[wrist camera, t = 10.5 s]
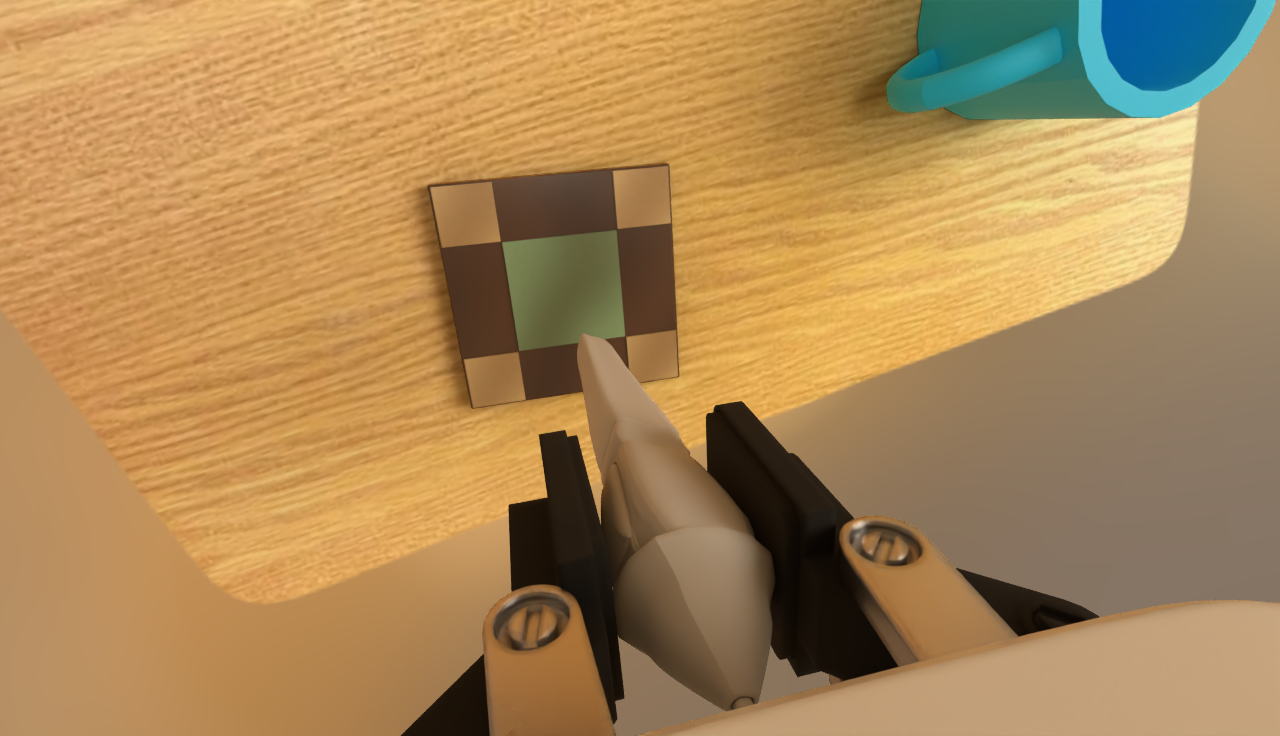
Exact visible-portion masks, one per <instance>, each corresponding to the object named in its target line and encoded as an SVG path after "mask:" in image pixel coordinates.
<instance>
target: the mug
mask: <svg viewBox="0 0 1280 736" xmlns="http://www.w3.org/2000/svg"><path fill="white" fill-rule="evenodd" d="M1275 2H1276V0H923V2H922V8H921V14H920V20H919V26H918V32H917V38H918V50H919V55H918V56H917V57H915V58H914V59H912V60H911V61H909V62H908V63H907V64H905V65H904V66H902V67H901V68H900V69H899V70H898V71H897V72H896V73H895V74H894V75H893V76H892V77H891V78H890V79H889V81H888V83H887V88H886V91H887V100H888V103H889V105H890V107H891V108H892V109H894V110H895V111H901V112H907V113H915V112H922V111H929V110H934V109H938V108H941V107H945V109H947V110H949V111H951V112H953V113H955V114H957V115H959V116H961V117H964V118H966V119H986V120H998V119H1087V118H1161V117H1163V116H1166V115H1169V114H1172V113H1174V112H1177V111H1180V110H1183V109H1185V108H1188V107H1191V106H1192V105H1194V104H1195V103H1196V102H1198V101H1199V100H1200V99H1202V98H1203V97H1204V96H1206V95H1207V94H1209V93H1210V92H1211V91H1213V90H1214V89H1215V88H1217V87H1218V86H1220V85H1221V84H1222V83H1223V82H1224V80H1225V79H1226V78H1227V77H1228V76H1229V75H1230V74H1231V73H1232V71H1233V70H1234V69H1235V68H1236V67H1237V66H1238V64H1239V63H1240V62H1241V61H1242V60H1243V59H1244V58H1245V56H1246V55H1247V54H1248V53H1249V51H1250V50H1251V48H1252V46H1253V45H1254V43H1255V41H1256V39H1257V37H1258V36H1259V34H1260V32H1261V30H1262V29H1263V27H1264V25H1265V24H1266V22H1267V20H1268V18H1269V17H1270V15H1271V13H1272V10H1273V7H1274V5H1275Z"/></svg>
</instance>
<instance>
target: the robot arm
mask: <svg viewBox="0 0 1280 736" xmlns="http://www.w3.org/2000/svg"><path fill="white" fill-rule="evenodd" d="M539 439H540V446H541V453H542V460H543V467H544V474H545V481H546V489H547V496H548V498H542V499H537V500H532V501H526V502H521V503H515V504H510V505H509V532H510V562H511V590H512V592H511V593H509V594H508V595H506V596H505V597H503V598H502V599H500V600H499V601H498V602H497V603H496V604H495V605H494V606H493V607H492V608H491V609H490V611H489V613H488V614H487V616H486V618H485V620H484V624H483V631H482V636H483V648H484V649H483V650H484V654H483V655H482V656H481V657H480V658H479V659H478V660H477V661H476V662H475V663H474V664H473V665H472V666H471V667H470V668H469V669H468V670H467V671H466V672H465V673H464V674H463V675H462V676H461V677H460V678H459V679H458V680H457V681H456V682H455V683H454V684H453V685H452V686H451V687H450V688H448V690H447V691H445V692H444V693H443V695H441V696H440V698H438V699H437V700H436V701H435V702H434V703H433V704H432V705H431V706H430V707H429V708H428V709H427V710H426V711H425V712H424V713H423V714H422V715H421V716H420V717H419V718H418V719H417V720H416V721H415V722H414V723H413V724H412V725H411V726H410V727H409V728H408V729H407V730H406V731H405V732H404V733H403V734H402V735H401V736H616V733H615V730H614V726H613V724H615V722H616V720H617V712H616V704H615V701H617V700H621V699H624V689H623V680H622V671H621V662H620V652H619V644H618V634H617V625H616V616H615V607H614V598H613V589H612V580H611V571H610V564H609V558H608V552H607V547H606V543H605V539H604V535H603V532H602V528H601V524H600V520H599V517H598V513H597V509H596V505H595V501H594V498H593V494H592V490H591V486H590V483H589V479H588V475H587V471H586V467H585V464H584V460H583V456H582V452H581V449H580V445H579V441H578V437H577V435H576V436H570V437H567V435H566V431H565V430H563V431H557V432H551V433H545V434H539ZM706 440H707V472H708V473H709V474H710V475H711V476H712V477H713V478H714V479H715V480H716V481H717V482H718V483H719V484H720V485H721V487H722V488H723V489H724V490H725V491H726V492H727V493H728V494H729V496H730V497H731V498H732V500H733V501H734V502H735V503H736V505H737V506H738V507H739V508H740V509H741V511H742V512H743V513H744V514H745V515H746V516H747V518H748V519H749V522H750V524H751V526H752V529H753V531H754V535H755V539H756V540H757V541H758V542H759V543H760V544H762V545H763V546H764V547H765V548H766V549H767V550H768V551H770V553H771V554H772V559H773V563H774V569H775V578H776V582H775V586H774V590H773V595H772V599H771V603H770V612H771V617H772V637H771V644H770V645H771V646H772V648H773V650H774V652H775V654H776V656H777V657H778V658H779V659H780V660H782V659H786V658H787V659H788V661H789V662H790V664H791V666H792V668H793V670H794V671H795V673H796V675H797V677H800V676H804V675H807V674H812V673H816V672H820V671H822V672H825V673H827V674H829V681H830V684H831V685H827V686H823V687H819V688H816V689H811V690H808V691H804V692H800V693H796V694H792V695H788V696H784V697H781V698H777V699H773V700H769V701H766V702H762V703H757V704H754V705H750V706H746V707H742V708H738V709H734V710H731V711H727V712H723V713H719V714H715V715H712V716H708V717H704V718H700V719H697V720H693V721H689V722H685V723H681V724H678V725H674V726H671V727H667V728H663V729H659V730H655V731H651V732H648V733H644V734H640V735H636V736H1280V603H1270V602H1257V601H1246V600H1212V601H1193V602H1184V603H1176V604H1167V605H1160V606H1154V607H1149V608H1144V609H1139V610H1134V611H1129V612H1125V613H1120V614H1114V615H1109V616H1105V617H1099V616H1098V615H1096V614H1094V613H1093V612H1091V611H1089V610H1087V609H1085V608H1084V607H1082V606H1079V605H1077V604H1074V603H1072V602H1069V601H1066V600H1064V599H1060V598H1056V597H1053V596H1050V595H1047V594H1043V593H1040V592H1036V591H1033V590H1030V589H1026V588H1023V587H1019V586H1016V585H1012V584H1009V583H1005V582H1002V581H999V580H995V579H992V578H988V577H985V576H982V575H978V574H975V573H972V572H968V571H965V570H961V569H958V568H955V567H954V566H953V565H952V564H951V563H950V561H949V560H948V559H947V558H946V557H945V556H944V555H943V554H942V553H941V552H940V551H939V550H938V548H937V547H936V546H935V545H934V544H933V543H932V542H931V541H930V540H929V539H928V538H927V536H925V535H924V534H923V533H922V532H920V531H919V530H918V529H917V528H915V527H913V526H912V525H910V524H908V523H906V522H903V521H900V520H897V519H894V518H890V517H883V516H863V517H860V518H856V519H854V518H853V517H852V515H851V514H850V513H849V512H848V511H847V510H846V509H845V508H844V507H843V506H842V504H841V503H840V502H839V501H838V500H837V499H836V498H835V497H834V496H833V495H832V493H831V492H830V491H829V490H828V489H827V488H826V487H825V486H824V485H823V484H822V483H821V482H820V480H819V479H818V478H817V477H816V476H815V475H814V474H813V473H812V472H811V471H810V469H809V468H808V467H807V466H806V465H805V464H804V463H803V462H802V461H801V460H800V458H799V457H798V456H796V455H795V454H793V453H788V452H787V451H786V450H785V449H784V448H783V447H782V445H781V444H780V443H779V442H778V441H777V440H776V439H775V437H774V436H773V435H772V434H771V433H770V432H769V431H768V430H767V429H766V427H765V426H764V425H763V424H762V423H761V422H760V421H759V420H758V418H757V417H756V416H755V415H754V414H753V413H752V412H751V411H750V409H749V408H748V407H747V406H746V405H745V404H744V403H743V402H742V401H739V402H733V403H727V404H721V405H716V406H715V407H714V412H713V413H708V414H707V416H706Z"/></svg>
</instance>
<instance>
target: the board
mask: <svg viewBox="0 0 1280 736" xmlns="http://www.w3.org/2000/svg"><path fill="white" fill-rule="evenodd" d="M428 190H429V195H430V200H431V206H432V211H433V216H434V221H435V226H436V231H437V236H438V241H439V246H440V251H441V256H442V261H443V266H444V271H445V277H446V282H447V287H448V292H449V297H450V302H451V307H452V312H453V317H454V322H455V327H456V332H457V337H458V343H459V348H460V353H461V358H462V363H463V368H464V373H465V378H466V383H467V388H468V393H469V398H470V403H471V408H472V409H474V408H480V407H487V406H493V405H500V404H506V403H513V402H519V401H526V400H532V399H539V398H545V397H552V396H558V395H565V394H571V393H578V392H583V387H582V381H581V376H580V372H579V368H578V361H577V349H578V344H579V340H580V337H581V335H582V334H587V335H590V336H594V337H598V338H602V339H605V340H606V341H607V342H608V343H609V344H610V345H611V346H612V347H613V348H614V350H615V351H616V353H617V354H618V355H619V357H620V358H621V360H622V361H623V363H624V364H625V366H626V367H627V368H628V369H629V371H630V372H631V373H632V374H633V376H634V377H635V378H636V379H637V381H638V382H639V383H643V382H649V381H656V380H662V379H669V378H675V377H679V360H678V339H677V318H676V297H675V276H674V255H673V234H672V213H671V191H670V170H669V164H667V163H658V164H647V165H636V166H625V167H613V168H602V169H591V170H580V171H569V172H557V173H546V174H535V175H524V176H513V177H501V178H490V179H479V180H468V181H456V182H445V183H434V184H429V185H428Z"/></svg>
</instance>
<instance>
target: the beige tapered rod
mask: <svg viewBox="0 0 1280 736" xmlns="http://www.w3.org/2000/svg"><path fill="white" fill-rule="evenodd" d="M577 361H578V368H579V372H580V376H581V381H582V387H583V393H584V398H585V404H586V410H587V417H588V423H589V429H590V435H591V440H592V445H593V449H594V453H595V456H596V460H597V463H598V467H599V470H600V472H601V478H602V483H603V486H604V487H603V490H602V495H601V528H602V532H603V535H604V539H605V543H606V547H607V552H608V558H609V564H610V571H611V580H612V587H613V598H614V607H615V616H616V625H617V633H618V636H619V638H621V639H622V640H624V641H625V642H627V643H628V644H630V645H631V646H633V647H635V648H636V649H638V650H639V651H641V652H643V653H645V654H646V655H648V656H649V657H650V658H651V659H652V660H653V661H654V662H655V663H656V664H657V665H658V666H659V667H660V668H661V669H663V671H665V672H666V673H667V674H669V675H670V676H671V677H673V678H674V679H675V680H677V681H678V682H680V683H681V684H683V685H684V686H686V687H687V688H689V689H690V690H692V691H693V692H695V693H696V694H698V695H700V696H701V697H703V698H704V699H706V700H708V701H709V702H711V703H713V704H714V705H716V706H718V707H719V708H721V709H723V710H725V711H726V712H727V711H731V710H734V709H738V708H742V707H746V706H750V705H754V704H757V703H758V701H759V697H760V693H761V689H762V685H763V680H764V675H765V671H766V666H767V660H768V655H769V650H770V644H771V637H772V617H771V612H770V603H771V599H772V595H773V590H774V586H775V582H776V578H775V569H774V563H773V559H772V554H771V553H770V551H768V550H767V549H766V548H765V547H764V546H763V545H762V544H760V543H759V542H758V541H757V540H756V539H755V535H754V531H753V529H752V526H751V524H750V522H749V519H748V518H747V516H746V515H745V514H744V513H743V512H742V511H741V509H740V508H739V507H738V506H737V505H736V503H735V502H734V501H733V500H732V498H731V497H730V496H729V494H728V493H727V492H726V491H725V490H724V489H723V488H722V487H721V485H720V484H719V483H718V482H717V481H716V480H715V479H714V478H713V477H712V476H711V475H710V474H709V473H708V472H707V471H706V470H705V468H703V467H702V466H701V465H700V464H699V463H698V462H697V461H696V460H694V459H693V458H692V457H691V456H690V452H689V450H688V449H687V448H686V447H685V445H684V444H683V442H682V440H681V438H680V437H679V432H678V431H677V429H676V428H675V427H674V426H673V425H672V423H671V422H670V420H669V419H668V418H667V416H666V415H665V413H664V412H663V411H662V410H661V409H660V408H659V407H658V405H657V404H656V403H655V402H654V401H653V400H652V399H651V397H650V396H649V395H648V394H647V392H646V391H645V390H644V389H643V387H642V386H641V385H640V383H639V382H638V381H637V379H636V378H635V377H634V376H633V374H632V373H631V372H630V371H629V369H628V368H627V367H626V366H625V364H624V363H623V361H622V360H621V358H620V357H619V355H618V354H617V353H616V351H615V350H614V348H613V347H612V346H611V345H610V344H609V343H608V342H607V341H606V340H605V339H602V338H598V337H594V336H590V335H587V334H582V335H581V337H580V340H579V344H578V349H577Z"/></svg>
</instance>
